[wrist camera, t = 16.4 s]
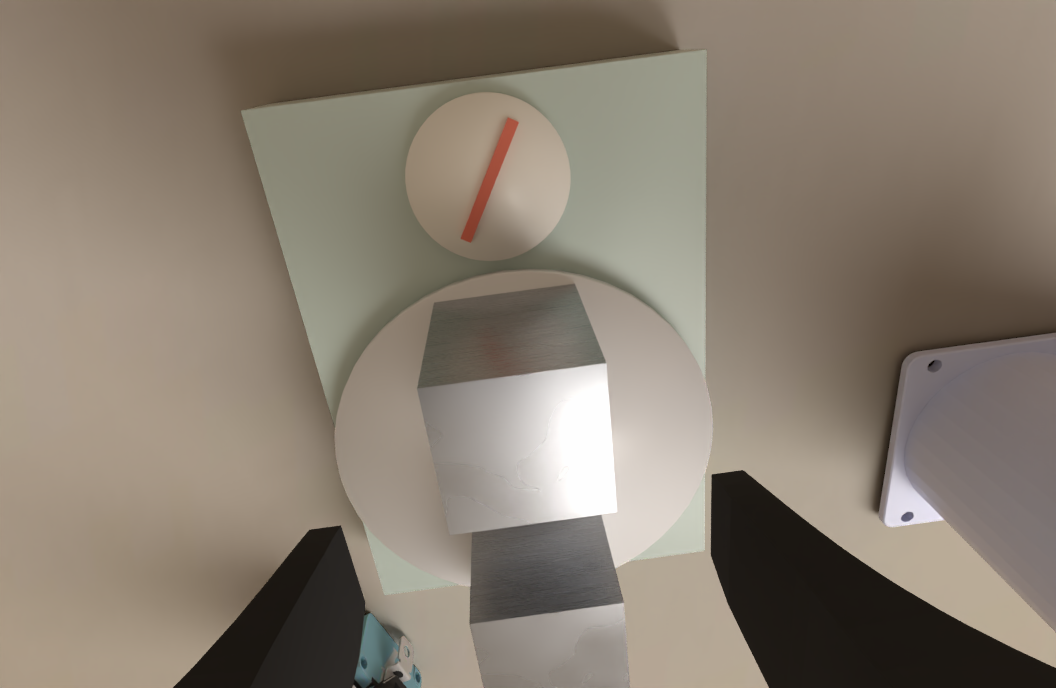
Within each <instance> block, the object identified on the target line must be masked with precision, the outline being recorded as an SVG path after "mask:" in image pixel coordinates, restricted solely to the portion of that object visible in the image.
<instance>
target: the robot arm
mask: <svg viewBox="0 0 1056 688" xmlns="http://www.w3.org/2000/svg"><path fill="white" fill-rule="evenodd" d="M934 360H935V361H934ZM932 361H934V364H932V365H931V366H930V367H928V365H929V363H931V362H932ZM904 513H905V514H904ZM879 519H880V520H881V521H882V522H883V524H884V525H885V526H888V527H897V526H904V525H912V524H919V523H926V522H933V521H940V520H945V521H946V522H947V523H948V524H949V525H950V526H951V527H952V528H953V529H954V530H955V531H956V532H957V533H958V534H959V535H960V536H961V537H962V538H963V539H964V540H965V541H966V542H967V543H968V544H969V545H970V546H971V547H972V548H973V549H974V550H975V551H976V552H977V553H978V554H979V555H980V556H981V557H982V558H983V559H984V560H985V561H986V562H987V563H988V564H989V565H990V566H991V567H992V568H993V569H994V570H995V571H996V572H997V573H998V574H999V575H1000V576H1001V577H1002V579H1003V580H1004V581H1005V582H1006V583H1007V584H1008V585H1009V586H1010V587H1011V588H1012V589H1013V590H1014V591H1015V592H1016V593H1017V594H1018V595H1019V596H1020V597H1021V598H1022V599H1023V600H1024V601H1025V602H1026V603H1027V604H1028V605H1029V606H1030V607H1031V608H1032V609H1033V610H1034V611H1035V612H1036V613H1037V614H1038V615H1039V616H1040V617H1041V618H1042V619H1043V620H1044V621H1045V622H1046V623H1047V624H1048V625H1049V626H1050V627H1051V628H1052V629H1053V630H1054V631H1055V632H1056V333H1050V334H1043V335H1035V336H1028V337H1020V338H1013V339H1006V340H998V341H991V342H984V343H976V344H969V345H962V346H954V347H947V348H940V349H932V350H925V351H918V352H914V353H911V354H910V355H908V356H907V357H906V358H905V360H904V361H903V364H902V367H901V374H900V380H899V387H898V393H897V399H896V406H895V412H894V419H893V425H892V431H891V438H890V444H889V451H888V457H887V463H886V470H885V476H884V483H883V489H882V495H881V502H880V508H879ZM711 557H712V560H713V563H714V565H715V568H716V571H717V574H718V577H719V580H720V583H721V586H722V588H723V591H724V594H725V597H726V599H727V602H728V605H729V607H730V609H731V611H732V613H733V615H734V617H735V619H736V621H737V623H738V626H739V628H740V630H741V632H742V634H743V636H744V638H745V640H746V642H747V644H748V646H749V648H750V650H751V652H752V654H753V656H754V658H755V660H756V662H757V664H758V666H759V668H760V670H761V672H762V674H763V676H764V678H765V680H766V682H767V684H768V686H769V688H1056V668H1055V667H1052V666H1050V665H1048V664H1046V663H1043V662H1041V661H1039V660H1037V659H1035V658H1033V657H1031V656H1028V655H1026V654H1024V653H1022V652H1020V651H1018V650H1016V649H1014V648H1012V647H1010V646H1008V645H1006V644H1004V643H1002V642H1000V641H998V640H996V639H994V638H992V637H990V636H988V635H986V634H984V633H982V632H980V631H978V630H976V629H974V628H972V627H970V626H968V625H966V624H964V623H963V622H961V621H959V620H957V619H955V618H953V617H952V616H950V615H948V614H946V613H944V612H942V611H941V610H939V609H937V608H936V607H934V606H932V605H930V604H929V603H927V602H925V601H924V600H922V599H920V598H918V597H917V596H915V595H913V594H912V593H910V592H908V591H907V590H905V589H903V588H902V587H900V586H898V585H897V584H895V583H894V582H892V581H890V580H889V579H887V578H886V577H884V576H883V575H881V574H880V573H878V572H877V571H875V570H874V569H872V568H871V567H869V566H868V565H866V564H865V563H863V562H862V561H860V560H859V559H857V558H856V557H854V556H853V555H851V554H850V553H849V552H847V551H846V550H844V549H843V548H842V547H840V546H839V545H837V544H836V543H835V542H833V541H832V540H831V539H829V538H828V537H827V536H825V535H824V534H823V533H821V532H820V531H819V530H817V529H816V528H815V527H813V526H812V525H811V524H809V523H808V522H807V521H806V520H804V519H803V518H802V517H800V516H799V515H798V514H797V513H795V512H794V511H793V510H792V509H790V508H789V507H788V506H787V505H785V504H784V503H783V502H782V501H780V500H779V499H778V498H777V497H775V496H774V495H773V494H772V493H771V492H769V491H768V490H767V489H766V488H764V487H763V486H762V485H761V484H759V483H758V482H757V481H756V480H755V479H753V478H752V477H751V476H750V475H748V474H747V473H746V472H745V471H743V470H741V471H734V472H727V473H720V474H712V492H711ZM364 611H365V600H364V597H363V594H362V591H361V588H360V584H359V581H358V578H357V575H356V572H355V569H354V566H353V562H352V559H351V556H350V553H349V550H348V547H347V543H346V540H345V537H344V534H343V531H342V528H341V526H334V527H327V528H320V529H312V530H309V531H308V532H307V533H306V535H305V536H304V537H303V538H302V539H301V541H300V542H299V543H298V544H297V546H296V547H295V548H294V549H293V550H292V552H291V553H290V554H289V555H288V557H287V558H286V559H285V560H284V562H283V563H282V564H281V565H280V567H279V568H278V569H277V570H276V572H275V573H274V574H273V575H272V577H271V578H270V579H269V580H268V582H267V583H266V584H265V585H264V587H263V588H262V589H261V590H260V591H259V593H258V594H257V595H256V596H255V597H254V599H253V600H252V601H251V602H250V603H249V605H248V606H247V607H246V608H245V609H244V611H243V612H242V613H241V614H240V615H239V617H238V618H237V619H236V620H235V621H234V623H233V624H232V625H231V626H230V627H229V628H228V629H227V630H226V631H225V633H224V634H223V635H222V636H221V637H220V638H219V639H218V640H217V641H216V643H215V644H214V645H213V646H212V647H211V648H210V649H209V650H208V651H207V652H206V654H205V655H204V656H203V657H202V658H201V659H200V660H199V661H198V662H197V664H196V665H195V666H194V667H193V668H192V669H191V670H190V671H189V672H188V673H187V674H186V675H185V676H184V677H183V678H182V679H181V680H180V681H179V682H178V683H177V684H176V685H175V686H174V687H173V688H352V687H353V683H354V678H355V674H356V669H357V665H358V660H359V656H360V648H361V640H362V631H363V621H364Z"/></svg>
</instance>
